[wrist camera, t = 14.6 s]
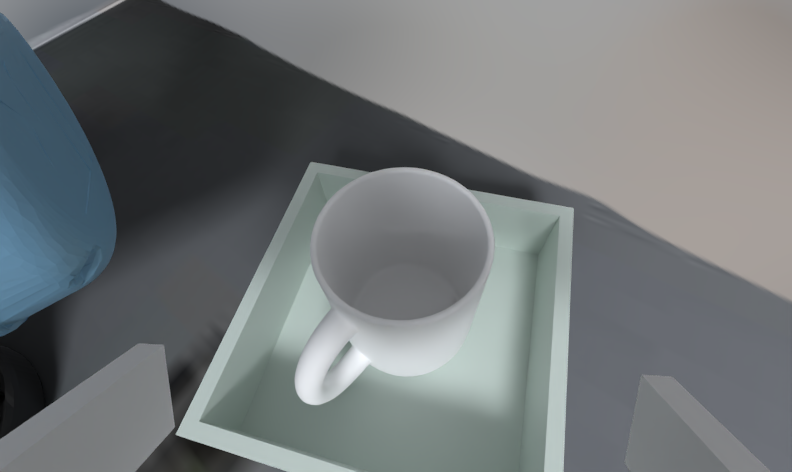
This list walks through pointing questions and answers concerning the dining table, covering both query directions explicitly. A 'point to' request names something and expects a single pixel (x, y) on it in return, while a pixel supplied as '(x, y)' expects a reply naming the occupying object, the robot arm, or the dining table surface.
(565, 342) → the bin
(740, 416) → the dining table surface
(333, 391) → the mug
